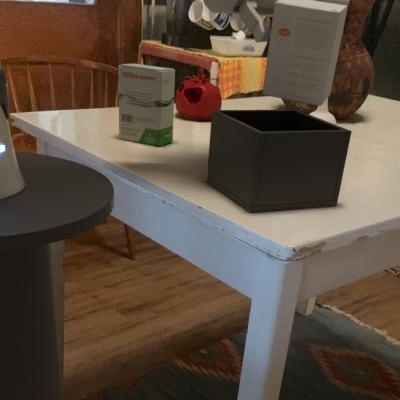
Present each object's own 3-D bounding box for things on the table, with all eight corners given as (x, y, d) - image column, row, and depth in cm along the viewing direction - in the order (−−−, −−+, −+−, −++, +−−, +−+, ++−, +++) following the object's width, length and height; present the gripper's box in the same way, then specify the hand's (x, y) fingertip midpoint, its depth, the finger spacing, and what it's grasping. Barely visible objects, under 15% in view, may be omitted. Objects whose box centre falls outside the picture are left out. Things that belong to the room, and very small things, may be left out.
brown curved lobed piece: (259, 103, 146) (273, -19, 133) (335, 105, 152) (357, -12, 139) (298, 124, 129) (319, -15, 115) (383, 125, 135) (413, -7, 121)
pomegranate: (203, 111, 133) (206, 64, 128) (230, 121, 126) (234, 72, 121) (164, 113, 128) (166, 64, 123) (190, 123, 121) (193, 72, 116)
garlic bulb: (332, 131, 125) (339, 89, 121) (336, 137, 120) (344, 94, 116) (301, 128, 125) (308, 86, 121) (304, 135, 120) (311, 91, 116)
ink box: (174, 142, 107) (177, 67, 101) (159, 147, 103) (162, 70, 97) (132, 133, 110) (133, 61, 104) (117, 138, 106) (116, 63, 100)
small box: (330, 97, 80) (350, 5, 73) (321, 107, 76) (341, 11, 69) (272, 85, 82) (286, -5, 75) (260, 95, 78) (274, 0, 71)
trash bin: (250, 212, 78) (259, 133, 73) (206, 181, 88) (211, 110, 83) (336, 205, 83) (351, 130, 78) (285, 177, 93) (296, 109, 88)
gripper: (199, -87, 71) (227, 16, 69) (341, -68, 79) (370, 26, 77) (182, -42, 77) (208, 55, 75) (316, -28, 85) (342, 60, 83)
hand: (291, 40), depth 76 cm, fingers closed on small box, 6 cm apart
